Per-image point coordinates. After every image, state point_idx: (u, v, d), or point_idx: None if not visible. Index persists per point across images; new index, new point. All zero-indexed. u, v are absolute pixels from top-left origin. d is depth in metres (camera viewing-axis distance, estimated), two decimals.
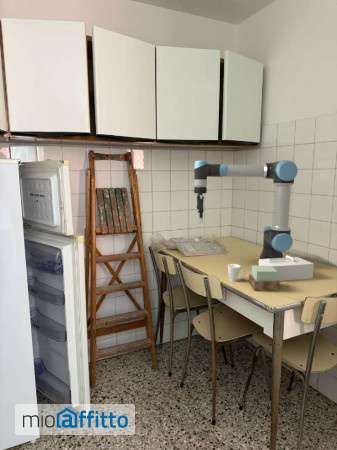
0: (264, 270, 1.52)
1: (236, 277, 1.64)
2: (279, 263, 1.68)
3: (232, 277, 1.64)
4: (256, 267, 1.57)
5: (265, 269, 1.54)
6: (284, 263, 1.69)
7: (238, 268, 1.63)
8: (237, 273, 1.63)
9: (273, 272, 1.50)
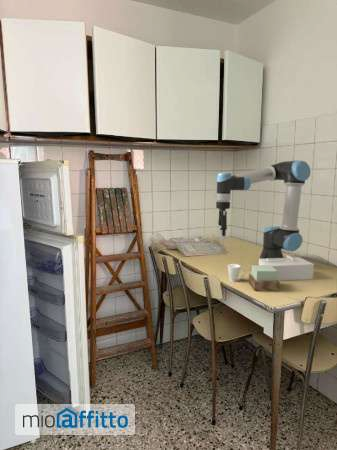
0: (264, 270, 1.52)
1: (236, 277, 1.64)
2: (278, 263, 1.69)
3: (232, 277, 1.64)
4: (256, 267, 1.57)
5: (265, 268, 1.54)
6: (283, 262, 1.70)
7: (238, 268, 1.63)
8: (237, 273, 1.63)
9: (273, 272, 1.51)
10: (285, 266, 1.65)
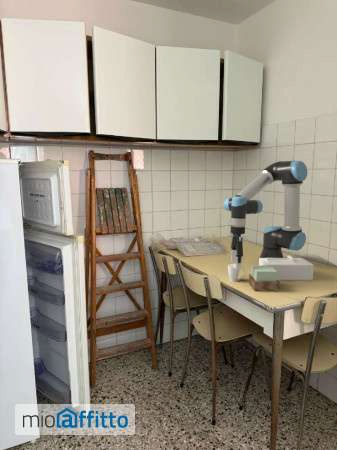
0: (264, 270, 1.52)
1: (236, 277, 1.64)
2: (277, 262, 1.70)
3: (232, 277, 1.64)
4: (256, 267, 1.57)
5: (265, 269, 1.54)
6: (283, 262, 1.70)
7: None
8: (237, 273, 1.63)
9: (273, 272, 1.50)
10: (283, 266, 1.66)
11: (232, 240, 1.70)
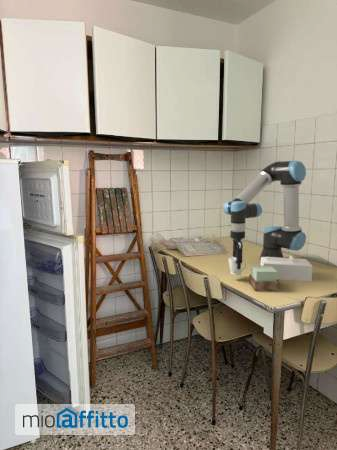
0: (264, 270, 1.52)
1: None
2: (275, 262, 1.71)
3: (233, 270, 1.64)
4: (255, 267, 1.57)
5: (265, 269, 1.54)
6: (281, 262, 1.71)
7: None
8: None
9: (273, 272, 1.50)
10: (280, 265, 1.67)
11: (233, 247, 1.69)
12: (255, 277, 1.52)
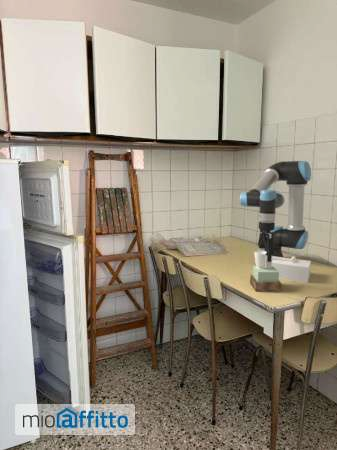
0: (265, 271, 1.51)
1: (264, 264, 1.54)
2: (274, 261, 1.73)
3: (260, 264, 1.54)
4: (257, 268, 1.56)
5: (267, 269, 1.53)
6: (280, 261, 1.72)
7: None
8: (265, 260, 1.53)
9: (275, 273, 1.49)
10: (276, 264, 1.69)
11: (259, 237, 1.59)
12: (257, 277, 1.52)
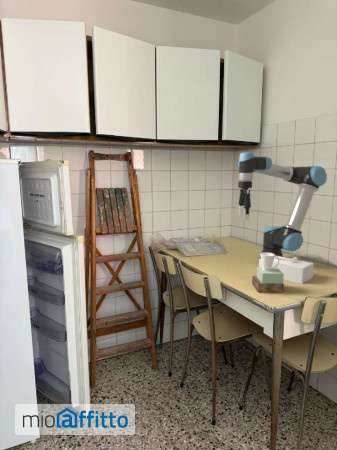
0: (270, 272, 1.49)
1: (270, 266, 1.50)
2: (273, 260, 1.75)
3: (266, 266, 1.50)
4: (261, 269, 1.54)
5: (271, 271, 1.51)
6: (279, 261, 1.73)
7: (272, 257, 1.49)
8: (271, 262, 1.50)
9: (279, 274, 1.47)
10: (273, 263, 1.71)
11: (240, 196, 1.80)
12: (261, 279, 1.49)
